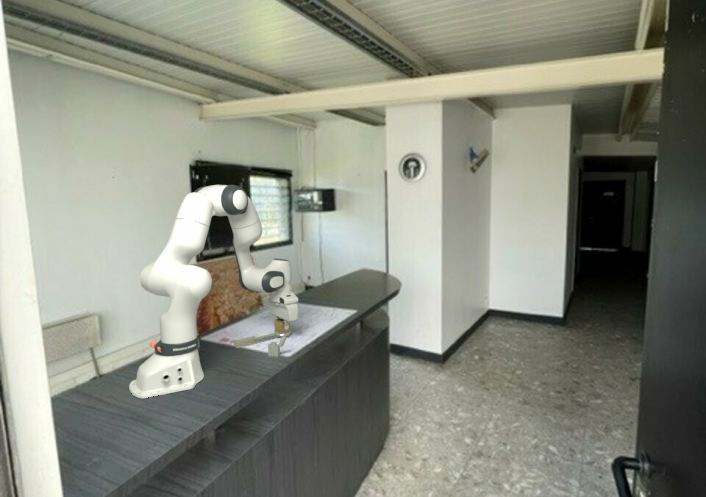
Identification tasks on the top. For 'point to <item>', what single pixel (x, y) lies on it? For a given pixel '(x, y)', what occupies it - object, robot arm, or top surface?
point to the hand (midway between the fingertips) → (282, 327)
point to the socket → (280, 326)
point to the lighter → (275, 347)
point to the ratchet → (259, 339)
